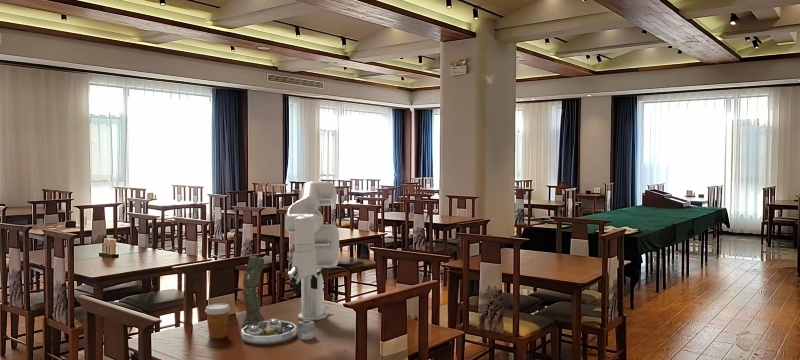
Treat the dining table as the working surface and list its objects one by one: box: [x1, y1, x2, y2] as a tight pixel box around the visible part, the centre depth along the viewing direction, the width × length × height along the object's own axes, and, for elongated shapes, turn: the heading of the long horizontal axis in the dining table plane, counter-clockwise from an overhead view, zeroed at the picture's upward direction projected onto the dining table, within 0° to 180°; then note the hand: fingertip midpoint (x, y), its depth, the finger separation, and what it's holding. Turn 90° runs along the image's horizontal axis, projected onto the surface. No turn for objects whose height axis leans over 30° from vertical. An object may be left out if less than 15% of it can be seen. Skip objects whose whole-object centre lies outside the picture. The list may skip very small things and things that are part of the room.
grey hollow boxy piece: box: [297, 320, 315, 341], centre depth 231 cm, size 6×6×6 cm
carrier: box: [240, 318, 298, 346], centre depth 232 cm, size 21×21×5 cm
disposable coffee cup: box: [204, 303, 231, 339], centre depth 233 cm, size 10×10×12 cm
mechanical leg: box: [241, 255, 265, 329], centre depth 249 cm, size 14×7×30 cm, turn 168°
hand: (305, 291), depth 230 cm, fingers open, 9 cm apart
